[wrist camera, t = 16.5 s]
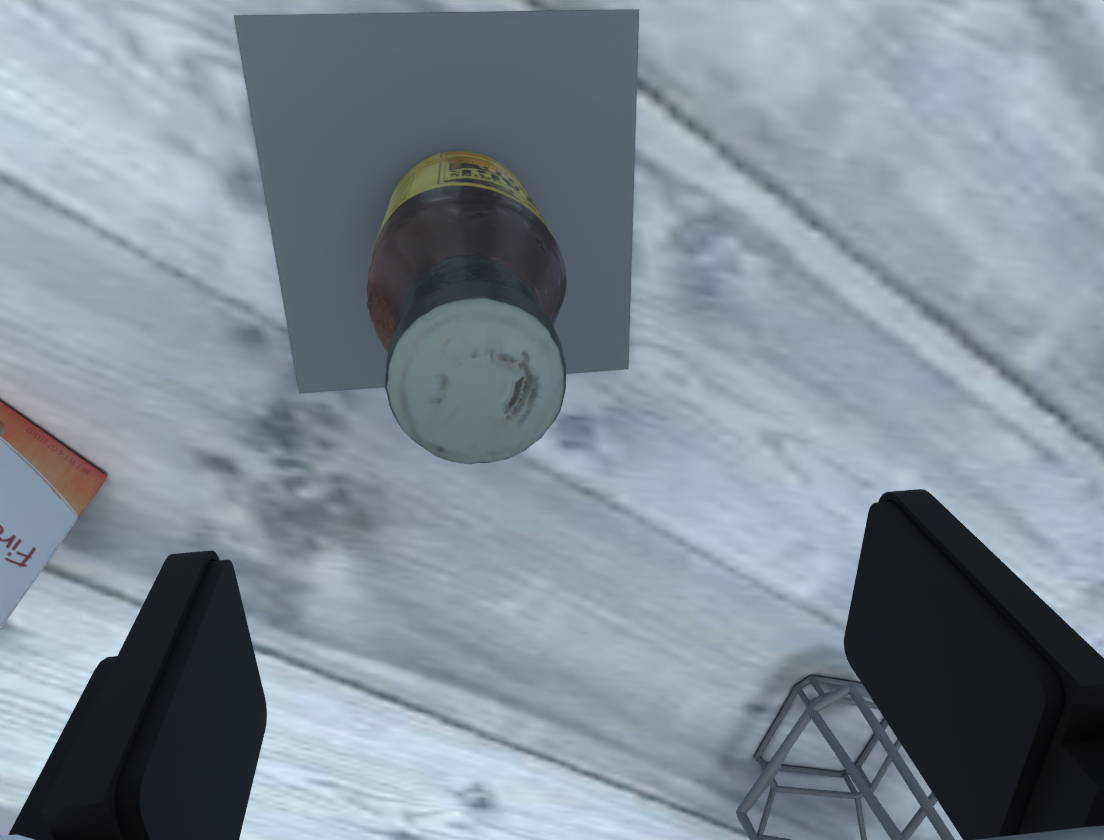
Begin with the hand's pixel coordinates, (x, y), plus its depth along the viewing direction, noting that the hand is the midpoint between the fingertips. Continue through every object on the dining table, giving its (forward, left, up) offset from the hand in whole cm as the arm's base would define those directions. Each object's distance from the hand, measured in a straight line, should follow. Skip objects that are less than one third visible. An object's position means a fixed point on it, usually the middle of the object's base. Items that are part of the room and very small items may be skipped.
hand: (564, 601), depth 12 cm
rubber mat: (0, 0, -27) cm, 27 cm away
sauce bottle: (0, 0, -27) cm, 27 cm away
